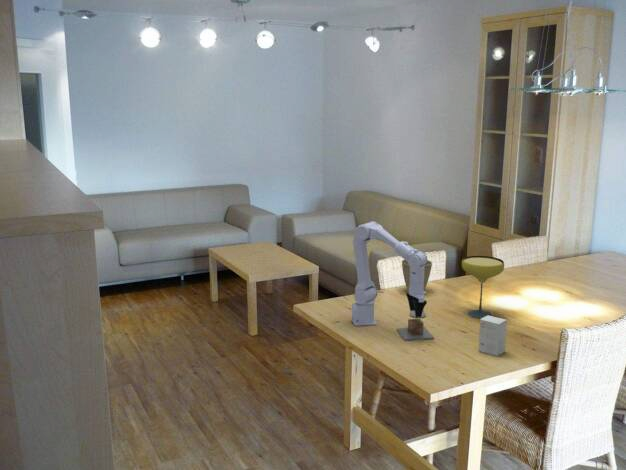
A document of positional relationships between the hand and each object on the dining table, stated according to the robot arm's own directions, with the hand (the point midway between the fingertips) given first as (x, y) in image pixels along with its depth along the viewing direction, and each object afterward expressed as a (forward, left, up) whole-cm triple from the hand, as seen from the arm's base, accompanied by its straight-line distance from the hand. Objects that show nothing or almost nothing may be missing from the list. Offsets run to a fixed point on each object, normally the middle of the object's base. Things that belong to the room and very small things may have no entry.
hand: (415, 313), depth 254 cm
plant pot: (+17, +54, -9) cm, 57 cm away
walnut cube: (0, 0, -8) cm, 8 cm away
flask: (+8, +22, -9) cm, 25 cm away
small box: (+24, -21, -9) cm, 33 cm away
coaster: (0, 0, -9) cm, 9 cm away
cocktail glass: (+36, +19, -9) cm, 42 cm away
